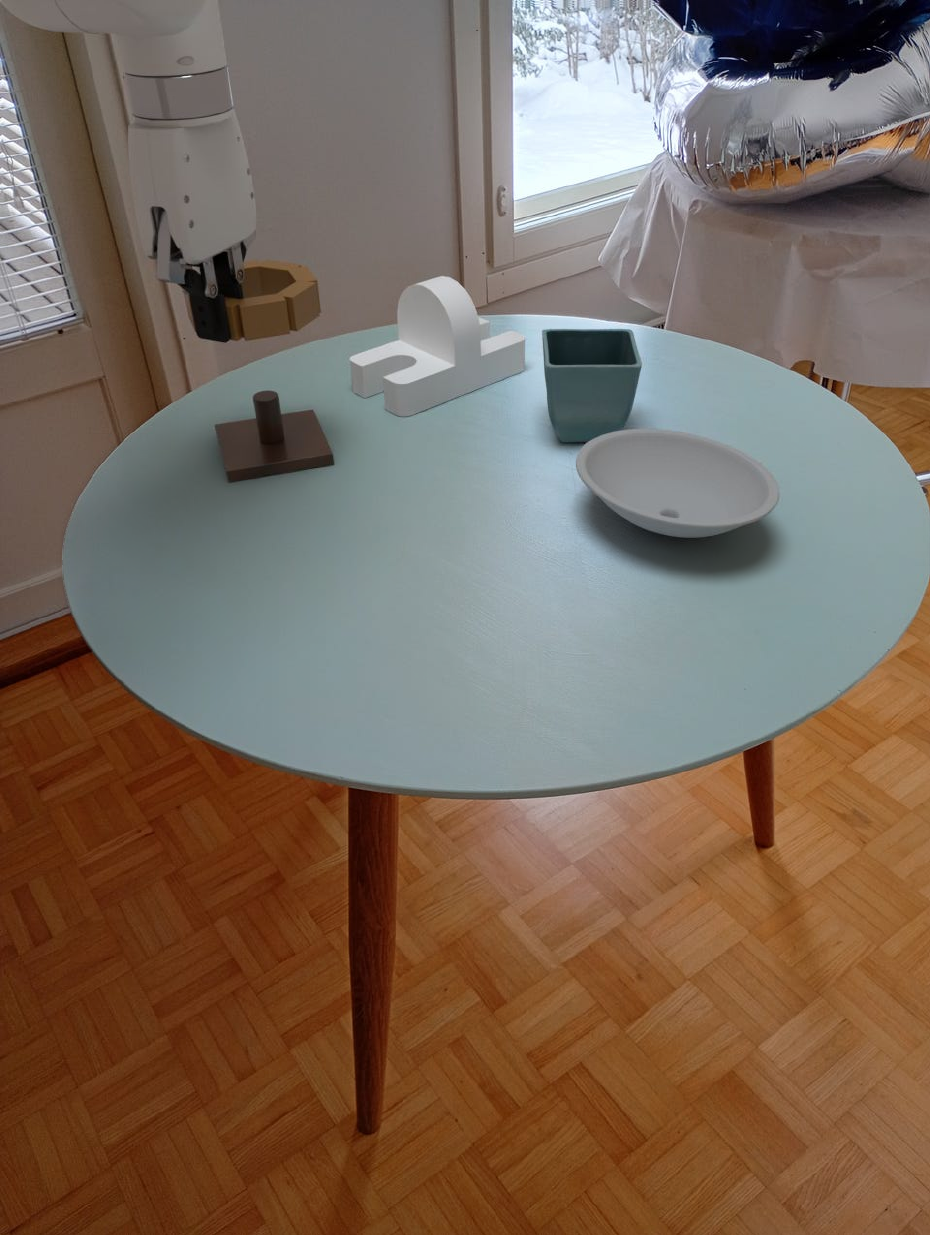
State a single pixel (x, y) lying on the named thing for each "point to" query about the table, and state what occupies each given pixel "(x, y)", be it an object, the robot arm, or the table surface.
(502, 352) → the white slotted bracket
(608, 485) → the dish
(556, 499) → the table surface
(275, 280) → the segmented block ring
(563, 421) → the flower pot
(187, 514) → the table surface
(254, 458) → the peg stand
